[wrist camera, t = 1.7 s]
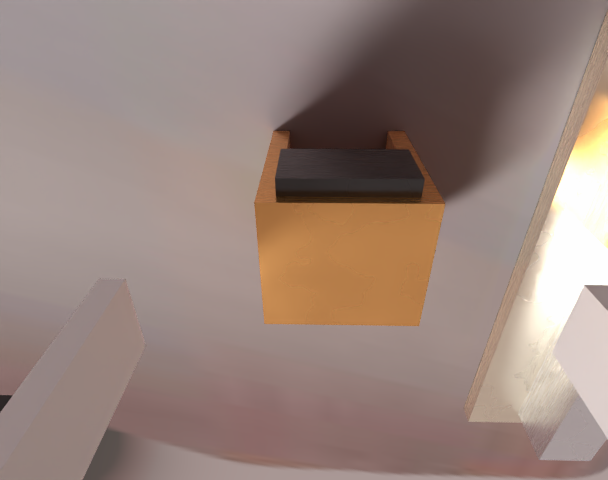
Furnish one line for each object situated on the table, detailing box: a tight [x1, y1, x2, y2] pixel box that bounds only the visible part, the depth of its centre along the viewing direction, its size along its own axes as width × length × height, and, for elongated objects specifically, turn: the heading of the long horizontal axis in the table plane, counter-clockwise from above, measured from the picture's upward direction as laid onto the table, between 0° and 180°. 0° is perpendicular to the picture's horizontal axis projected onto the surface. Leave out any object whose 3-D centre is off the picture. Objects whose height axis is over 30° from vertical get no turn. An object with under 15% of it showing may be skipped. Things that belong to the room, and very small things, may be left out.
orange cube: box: [254, 131, 445, 326], centre depth 16 cm, size 6×6×6 cm
